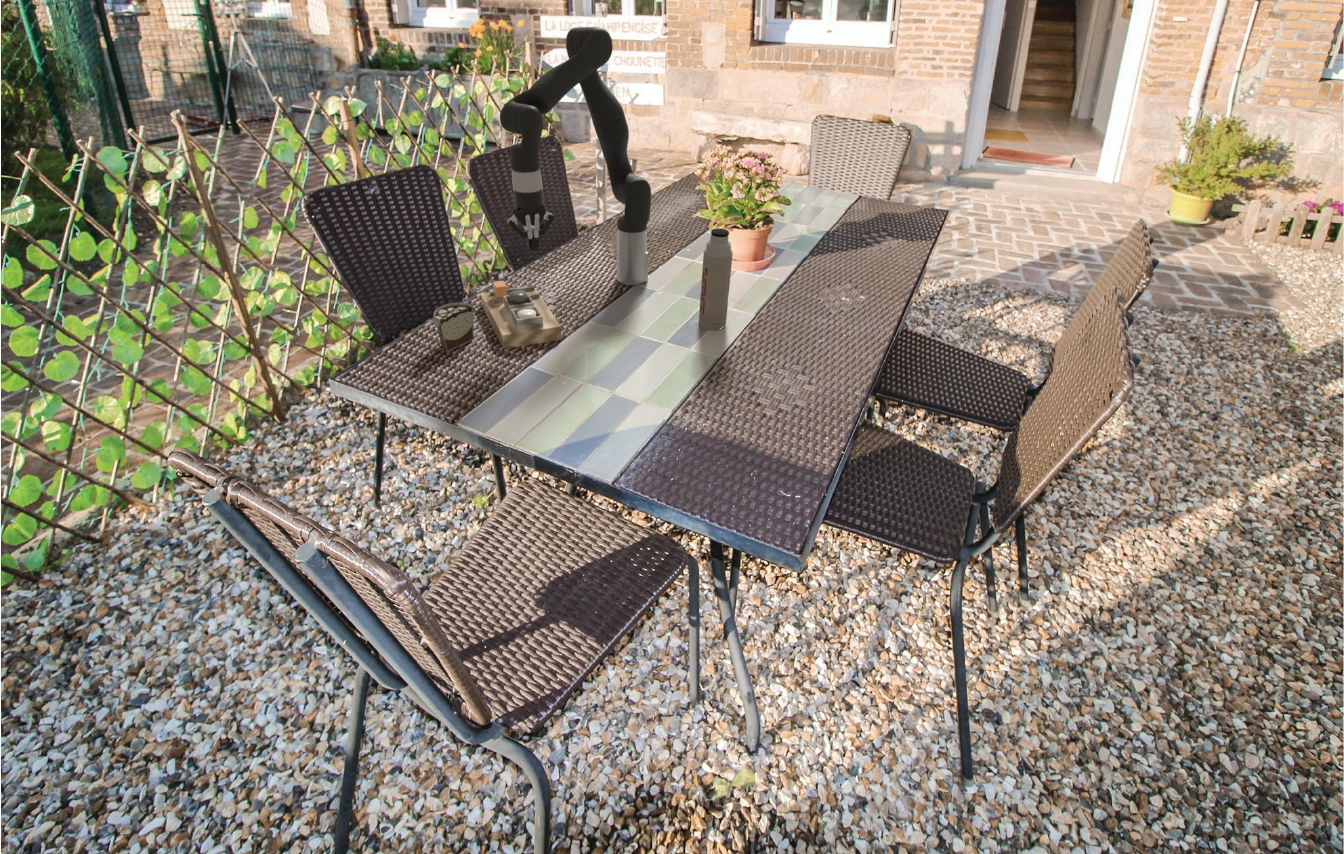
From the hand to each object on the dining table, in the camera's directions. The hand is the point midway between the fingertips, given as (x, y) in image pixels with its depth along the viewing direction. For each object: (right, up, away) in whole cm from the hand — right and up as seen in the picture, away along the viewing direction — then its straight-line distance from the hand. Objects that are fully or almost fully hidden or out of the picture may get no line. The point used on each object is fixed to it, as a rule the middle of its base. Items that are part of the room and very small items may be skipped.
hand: (533, 250), depth 201 cm
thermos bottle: (+49, -18, +15) cm, 55 cm away
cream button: (-2, -18, +1) cm, 19 cm away
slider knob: (-12, -10, +14) cm, 21 cm away
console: (-6, -18, +11) cm, 22 cm away
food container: (-22, -25, -1) cm, 33 cm away
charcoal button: (-6, -12, +7) cm, 15 cm away
